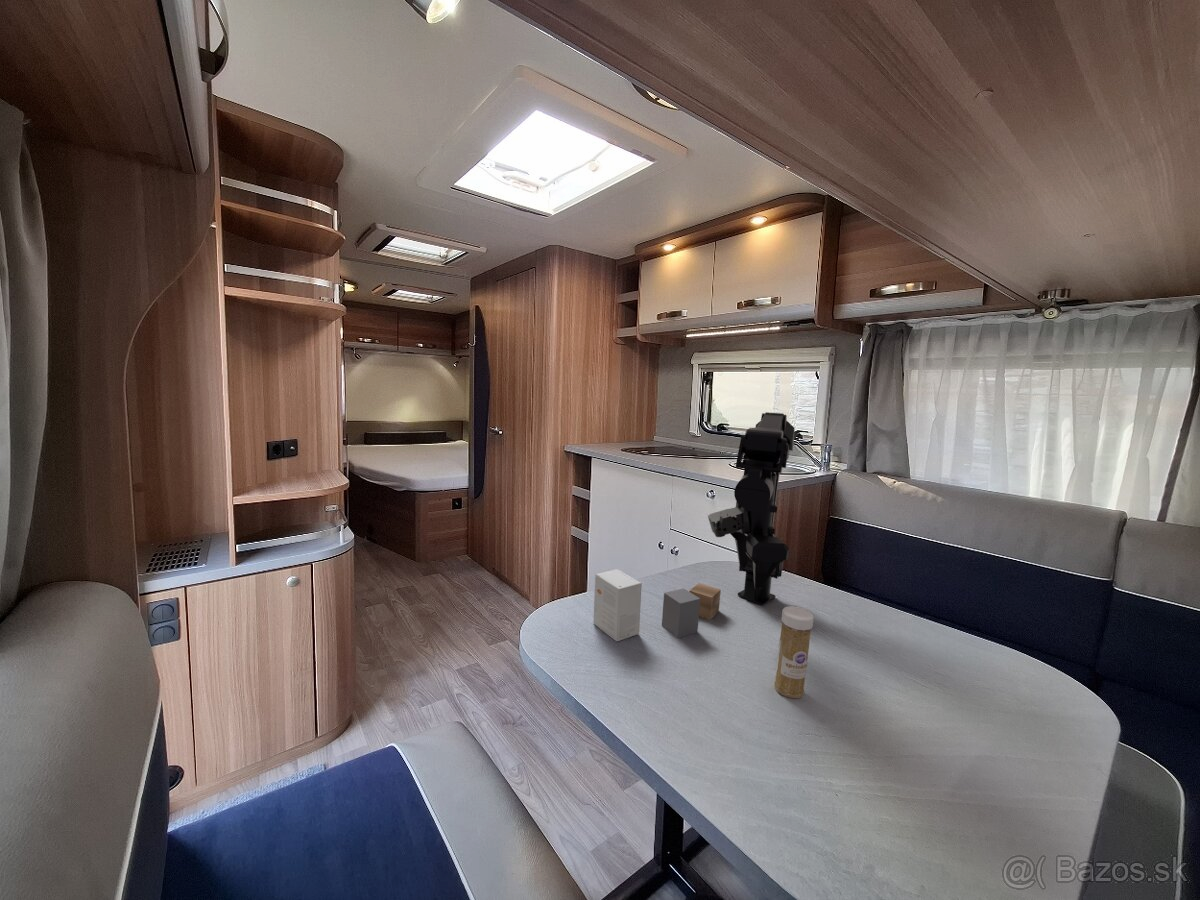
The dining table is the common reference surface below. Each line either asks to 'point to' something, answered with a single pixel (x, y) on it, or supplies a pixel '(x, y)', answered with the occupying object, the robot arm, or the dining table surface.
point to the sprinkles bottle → (793, 651)
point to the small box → (617, 604)
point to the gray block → (680, 612)
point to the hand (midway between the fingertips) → (749, 577)
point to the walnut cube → (707, 599)
